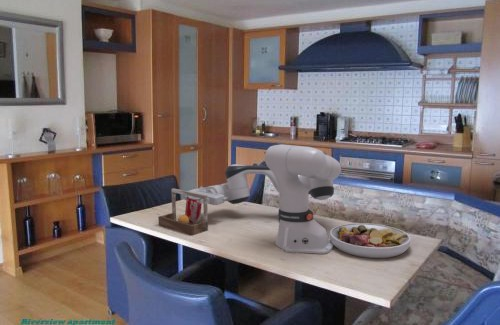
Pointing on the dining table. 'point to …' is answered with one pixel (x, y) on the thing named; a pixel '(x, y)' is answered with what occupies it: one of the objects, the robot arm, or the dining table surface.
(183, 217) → the orange ball
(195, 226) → the box
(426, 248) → the dining table surface
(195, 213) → the soda can
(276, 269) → the dining table surface
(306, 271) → the dining table surface
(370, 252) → the bowl
